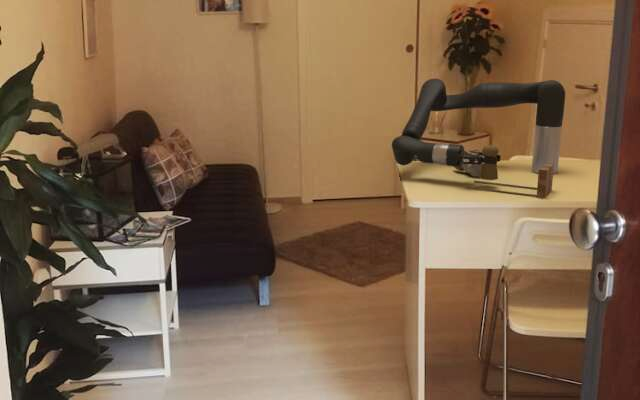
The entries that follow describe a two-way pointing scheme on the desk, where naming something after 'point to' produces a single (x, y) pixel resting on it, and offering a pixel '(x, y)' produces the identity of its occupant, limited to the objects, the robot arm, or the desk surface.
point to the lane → (542, 188)
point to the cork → (489, 169)
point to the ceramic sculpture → (471, 169)
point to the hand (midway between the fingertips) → (498, 159)
